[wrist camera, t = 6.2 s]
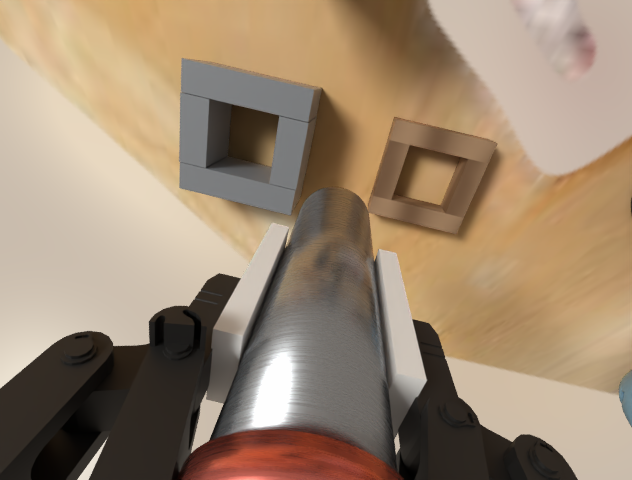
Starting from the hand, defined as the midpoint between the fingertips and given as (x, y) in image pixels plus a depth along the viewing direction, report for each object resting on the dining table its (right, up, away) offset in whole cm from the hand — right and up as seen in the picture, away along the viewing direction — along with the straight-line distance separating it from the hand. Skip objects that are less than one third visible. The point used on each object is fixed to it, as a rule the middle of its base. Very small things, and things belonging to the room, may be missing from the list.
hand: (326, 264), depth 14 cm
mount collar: (+12, +8, +22) cm, 26 cm away
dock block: (-7, +13, +22) cm, 27 cm away
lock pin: (+1, +2, +4) cm, 5 cm away
